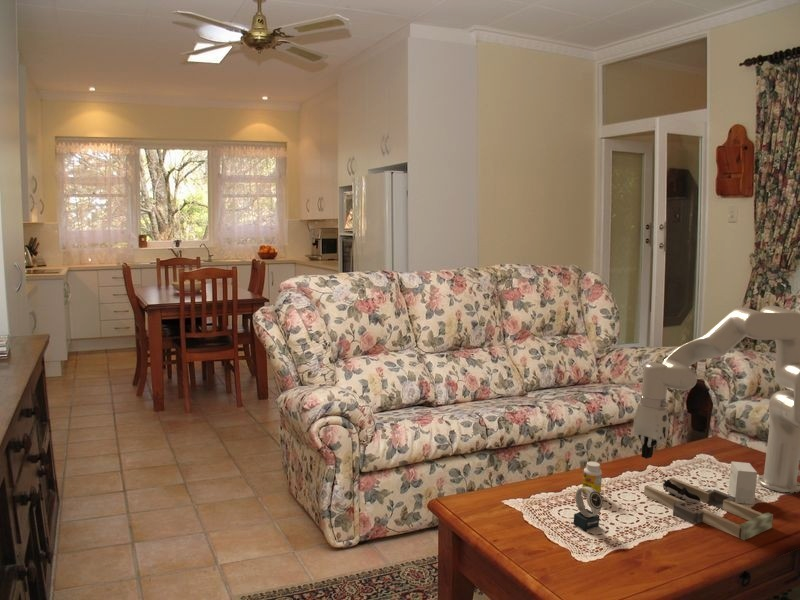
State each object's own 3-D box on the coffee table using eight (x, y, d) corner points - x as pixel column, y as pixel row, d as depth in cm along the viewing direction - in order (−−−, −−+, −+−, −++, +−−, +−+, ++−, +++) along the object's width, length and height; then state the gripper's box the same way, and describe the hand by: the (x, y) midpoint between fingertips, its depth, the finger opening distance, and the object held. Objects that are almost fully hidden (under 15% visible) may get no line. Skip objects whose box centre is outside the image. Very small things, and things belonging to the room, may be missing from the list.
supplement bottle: (578, 492, 219) (580, 461, 217) (592, 490, 221) (594, 459, 219) (589, 499, 214) (591, 468, 212) (604, 497, 216) (606, 465, 214)
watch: (590, 533, 193) (592, 496, 191) (568, 521, 199) (571, 485, 198) (604, 529, 195) (607, 492, 194) (583, 517, 202) (585, 481, 200)
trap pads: (713, 500, 216) (713, 499, 216) (728, 507, 212) (728, 506, 212) (678, 514, 206) (678, 513, 206) (693, 521, 202) (693, 520, 202)
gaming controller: (667, 497, 223) (656, 485, 220) (675, 486, 223) (665, 474, 220) (694, 511, 213) (684, 499, 210) (702, 500, 214) (692, 487, 211)
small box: (754, 505, 214) (757, 472, 212) (734, 503, 215) (738, 470, 213) (746, 494, 221) (750, 462, 220) (727, 492, 222) (731, 460, 221)
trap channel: (677, 483, 228) (679, 472, 227) (778, 524, 201) (779, 511, 200) (636, 498, 216) (637, 486, 215) (737, 543, 189) (738, 529, 189)
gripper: (680, 407, 217) (674, 463, 220) (640, 394, 229) (634, 447, 232) (666, 410, 213) (659, 467, 216) (625, 397, 225) (620, 451, 228)
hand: (646, 457), depth 224 cm, fingers closed
